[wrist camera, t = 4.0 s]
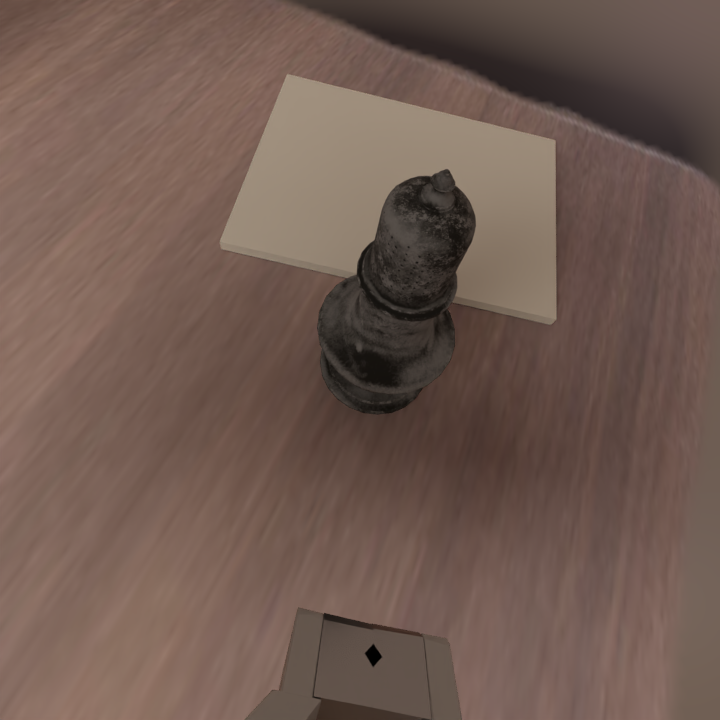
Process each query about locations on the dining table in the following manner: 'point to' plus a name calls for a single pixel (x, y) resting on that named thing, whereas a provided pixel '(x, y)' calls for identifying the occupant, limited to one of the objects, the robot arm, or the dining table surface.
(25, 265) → the dining table surface
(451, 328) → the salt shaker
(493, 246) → the placemat
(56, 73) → the dining table surface
